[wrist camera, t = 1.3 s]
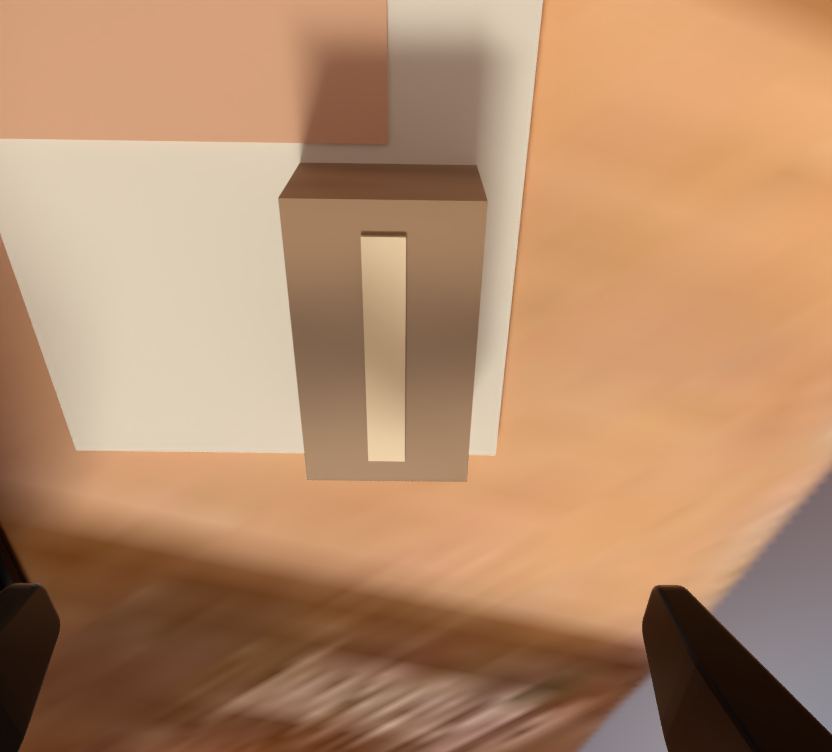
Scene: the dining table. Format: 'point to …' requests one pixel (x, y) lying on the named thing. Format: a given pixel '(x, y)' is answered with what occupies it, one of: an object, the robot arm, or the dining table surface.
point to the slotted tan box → (384, 316)
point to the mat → (232, 189)
